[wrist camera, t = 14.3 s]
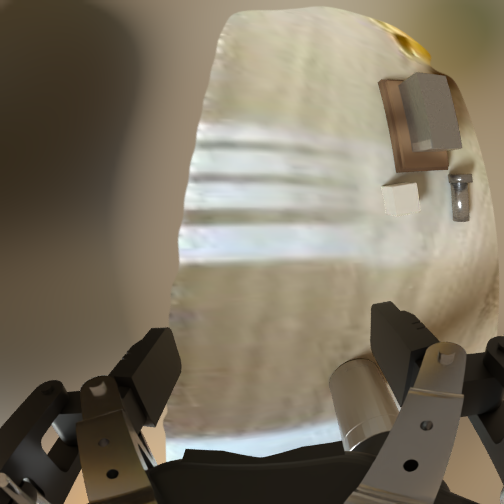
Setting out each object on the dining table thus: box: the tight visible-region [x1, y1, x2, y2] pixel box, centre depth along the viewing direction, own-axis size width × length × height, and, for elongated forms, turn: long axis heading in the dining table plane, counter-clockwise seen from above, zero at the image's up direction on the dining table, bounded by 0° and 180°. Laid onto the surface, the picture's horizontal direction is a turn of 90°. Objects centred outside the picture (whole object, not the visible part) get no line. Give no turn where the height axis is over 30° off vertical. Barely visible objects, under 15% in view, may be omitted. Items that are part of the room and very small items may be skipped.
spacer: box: [381, 182, 421, 217], centre depth 35 cm, size 4×4×4 cm
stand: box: [378, 80, 449, 173], centre depth 33 cm, size 14×9×2 cm, turn 9°
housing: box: [398, 72, 462, 152], centre depth 29 cm, size 5×10×6 cm, turn 9°
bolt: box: [448, 174, 473, 222], centre depth 34 cm, size 7×4×4 cm, turn 9°
